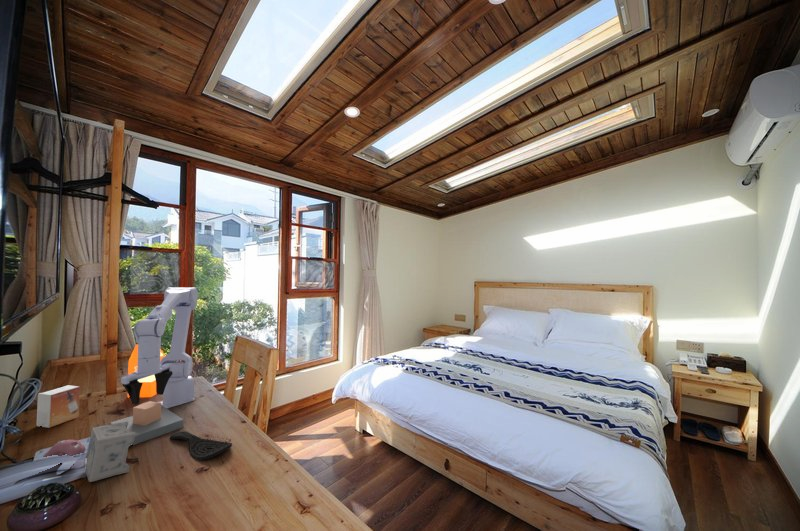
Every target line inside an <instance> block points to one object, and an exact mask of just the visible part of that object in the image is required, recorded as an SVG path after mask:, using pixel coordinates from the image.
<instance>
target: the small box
mask: <svg viewBox="0 0 800 531" xmlns="http://www.w3.org/2000/svg"><path fill="white" fill-rule="evenodd" d="M80 392H81V387H80V386H77V385H68V384H67V385H64V386H62V387H58V388H55V389H51V390H47V391H44V392H39V393H38V394H37V402H36V403H37V406H36V408H37V410H36V426H37V427H40V426H42V427H41V428H49V429H50V428H53V427H55V426H57V425H60V424H63V423H65V422H69V421H71V420H74V419H77V418H79V416H80Z"/></svg>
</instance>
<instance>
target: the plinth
mask: <svg viewBox="0 0 800 531" xmlns="http://www.w3.org/2000/svg"><path fill="white" fill-rule="evenodd" d="M123 422H128V426H127V430H128V431H129V432H135V440H134V442H133V446H135V445H137V444H141V443H144V442H146V441H149V440H151V439H152V440H153V439H154V438H157V437H160V436H163V435H165V434H167V433H171V432H174V431H176V430H179V429H182V428H184V419H183V418H182V417H180V416H178V414H176V413H174V412H172V411H171V410H169V408H167V409H166V408H165V407H163V406H161V418H160V419H158V420H156V421H154V422H152V423H150V424H147V425H145V426H144V425H138V424H133V415H131V416H128V417H124V418H121V419H117V420H114V421H110V423H109V425H111V424H116V423H123Z"/></svg>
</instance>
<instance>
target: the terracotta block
mask: <svg viewBox="0 0 800 531" xmlns="http://www.w3.org/2000/svg"><path fill="white" fill-rule="evenodd" d="M159 402H160V401H151V400H148V401H145V402H143V403H140V404H137V405H136V406H134V407H132V416H133V424H138V425H144V426H145V425H147V424H150V423H152V422H154V421H156V420H158V419H160V418H161V407H162V406H161V403H159Z"/></svg>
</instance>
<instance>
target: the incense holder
mask: <svg viewBox="0 0 800 531" xmlns="http://www.w3.org/2000/svg"><path fill="white" fill-rule="evenodd" d="M127 426H128V422H123V423H116V424H111V425H110V424H105V425H99V426H94V427H93V428H91V432H90V436H89V442H88V444H87V445H88V446H87V451H86V455H85V458H87V464H86V470H85V473H86V477H87V480H88V482H89V483H92V482H97V481H99V480H103V479H107V478H110V477H114V476H117V475H122V474H128V473H129V471H130V465H129V464H128V463H127V456H128V452H129V445H131V444H133V442H134V440H135V432H129V431H128V430H127Z"/></svg>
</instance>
